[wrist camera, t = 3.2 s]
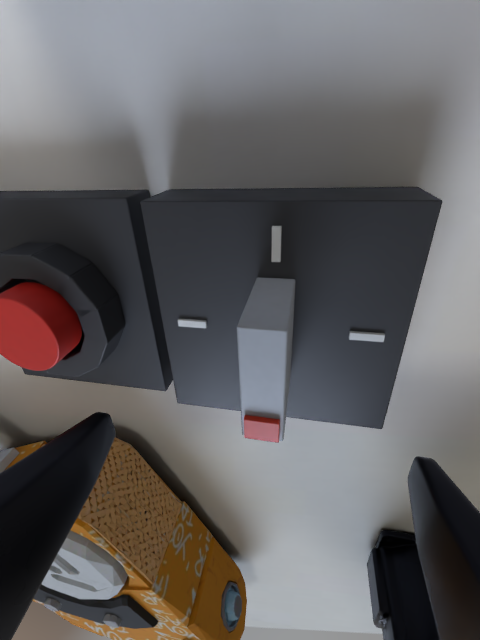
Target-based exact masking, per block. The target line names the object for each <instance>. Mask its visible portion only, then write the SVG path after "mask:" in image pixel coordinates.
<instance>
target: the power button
mask: <svg viewBox="0 0 480 640" xmlns="http://www.w3.org/2000/svg"><path fill="white" fill-rule="evenodd" d="M81 336H82V327H81V323H80V320H79V317H78V315H77V313H76V311H75V310H74V309H73V308H72V307H71V306H70V304H69V303H68V302H67V301H66V300H65V299H64V298H63V296H62V295H61V294H59V293H58V292H56V291H55V290H53V289H51V288H49V287H47V286H45V285H43V284H39V283H34V282H24V283H20V284H17V285H16V286H14V287H12V288H10V289H8V290H6V291H4V292H2V293H0V354H1V355H2V356H4V357H5V358H6V359H8V360H9V361H11V362H12V363H14V364H16V365H18V366H20V367H23V368H26V369H29V370H35V371H43V370H47V369H50V368H52V367H53V366H55V365H56V364H57V363H58V362H59V361H60V360H61V359H63V358H64V357H65V356H66V355H67V354H68V353H69V352H70V351H71V350H73V349H74V348H75V347H76V346H77V345H78V343H79V342H80V339H81Z"/></svg>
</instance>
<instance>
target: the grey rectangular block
mask: <svg viewBox="0 0 480 640" xmlns="http://www.w3.org/2000/svg"><path fill="white" fill-rule="evenodd" d="M294 299H295V279H281V278H257V279H256V281H255V284H254V286H253V289H252V291H251V294H250V296H249V298H248V301H247V303H246V306H245V308H244V311H243V313H242V316H241V318H240V320H239V323H238V325H237V342H238V361H239V381H240V400H241V420H242V434H243V435H244V437H245V438H249V439H256V440H263V441H270V442H277V443H278V442H279V441H283V439H284V430H285V421H286V412H287V403H288V393H289V384H290V375H291V357H292V338H293V318H294Z"/></svg>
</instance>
